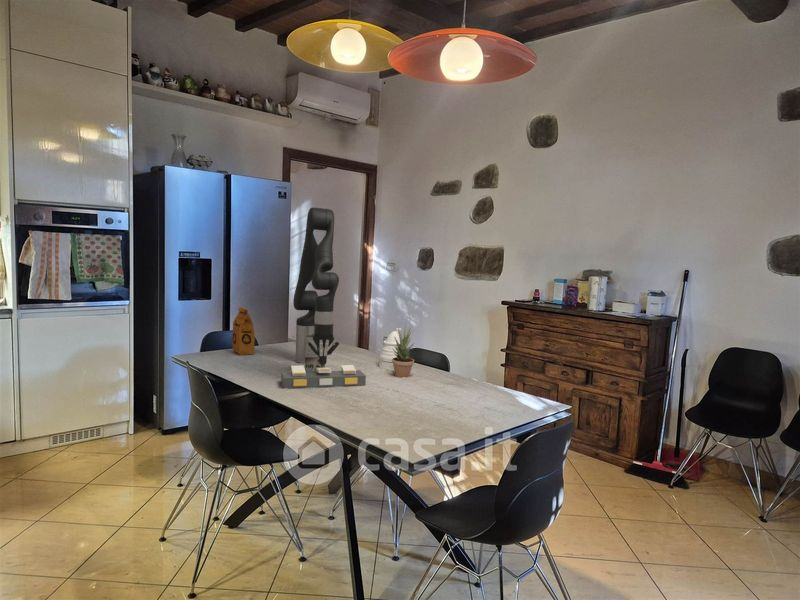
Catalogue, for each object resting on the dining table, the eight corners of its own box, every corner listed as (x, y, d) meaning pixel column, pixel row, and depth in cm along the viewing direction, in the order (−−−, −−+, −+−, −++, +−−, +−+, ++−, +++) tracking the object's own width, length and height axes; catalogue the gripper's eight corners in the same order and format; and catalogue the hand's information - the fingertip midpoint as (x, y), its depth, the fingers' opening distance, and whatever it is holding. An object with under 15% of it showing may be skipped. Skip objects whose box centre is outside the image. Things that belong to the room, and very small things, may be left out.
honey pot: (402, 363, 268) (404, 326, 266) (410, 370, 255) (412, 330, 254) (376, 364, 264) (377, 326, 262) (382, 370, 252) (384, 330, 250)
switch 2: (316, 370, 225) (316, 367, 225) (328, 370, 227) (328, 366, 227) (318, 372, 219) (318, 369, 219) (331, 372, 221) (331, 369, 221)
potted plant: (415, 378, 240) (418, 321, 237) (394, 378, 237) (396, 321, 235) (409, 372, 249) (412, 317, 247) (388, 373, 247) (391, 317, 244)
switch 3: (340, 368, 228) (340, 364, 228) (352, 367, 230) (353, 364, 230) (343, 374, 223) (344, 371, 222) (356, 373, 224) (356, 370, 224)
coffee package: (236, 356, 268) (236, 310, 266) (230, 351, 279) (231, 306, 276) (256, 354, 273) (257, 309, 270) (250, 349, 283) (251, 306, 281)
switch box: (281, 382, 224) (281, 372, 223) (359, 379, 233) (359, 370, 233) (284, 389, 214) (284, 378, 213) (365, 386, 223) (366, 376, 223)
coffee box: (318, 375, 238) (319, 337, 236) (304, 373, 239) (305, 336, 237) (325, 370, 246) (326, 334, 245) (311, 369, 248) (312, 333, 246)
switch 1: (291, 368, 222) (291, 365, 222) (303, 368, 224) (303, 365, 223) (292, 376, 217) (293, 373, 216) (305, 376, 218) (306, 373, 218)
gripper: (338, 320, 229) (336, 362, 231) (305, 320, 225) (304, 363, 227) (342, 323, 222) (340, 366, 224) (308, 323, 218) (307, 367, 220)
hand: (322, 364), depth 225 cm, fingers closed
